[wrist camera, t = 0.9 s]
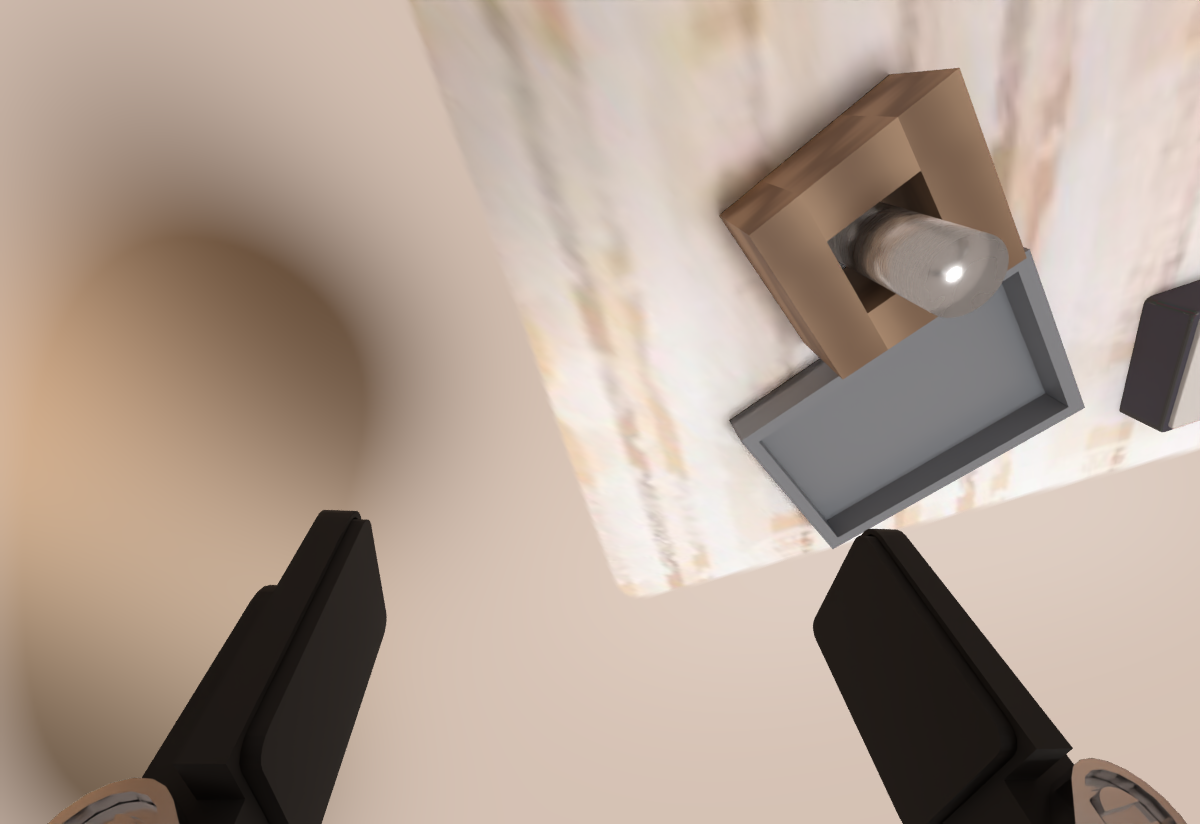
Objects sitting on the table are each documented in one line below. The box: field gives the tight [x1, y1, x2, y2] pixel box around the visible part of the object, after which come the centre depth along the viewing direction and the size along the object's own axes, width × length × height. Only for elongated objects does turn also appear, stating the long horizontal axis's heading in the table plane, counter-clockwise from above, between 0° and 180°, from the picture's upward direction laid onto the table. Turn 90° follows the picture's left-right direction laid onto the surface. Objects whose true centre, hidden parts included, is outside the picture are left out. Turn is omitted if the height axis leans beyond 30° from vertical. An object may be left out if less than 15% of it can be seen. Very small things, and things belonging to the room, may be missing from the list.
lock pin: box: [827, 202, 1009, 318], centre depth 29 cm, size 4×4×12 cm
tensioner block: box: [719, 68, 1027, 379], centre depth 31 cm, size 12×12×6 cm
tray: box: [730, 247, 1085, 549], centre depth 41 cm, size 22×16×3 cm
